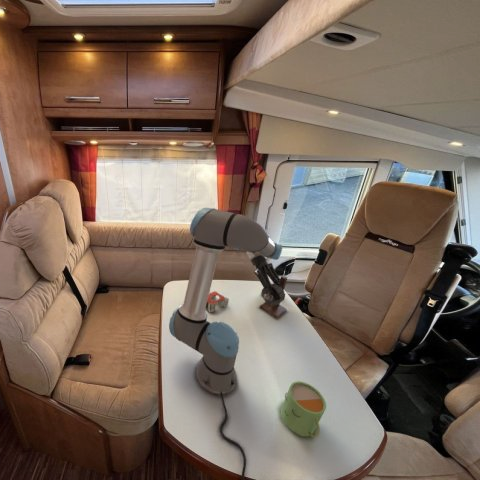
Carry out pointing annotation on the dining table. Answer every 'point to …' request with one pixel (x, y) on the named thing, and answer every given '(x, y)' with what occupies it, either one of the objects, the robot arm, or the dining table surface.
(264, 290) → the tape roll
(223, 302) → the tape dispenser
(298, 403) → the mug
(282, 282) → the tape stand
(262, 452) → the dining table surface
